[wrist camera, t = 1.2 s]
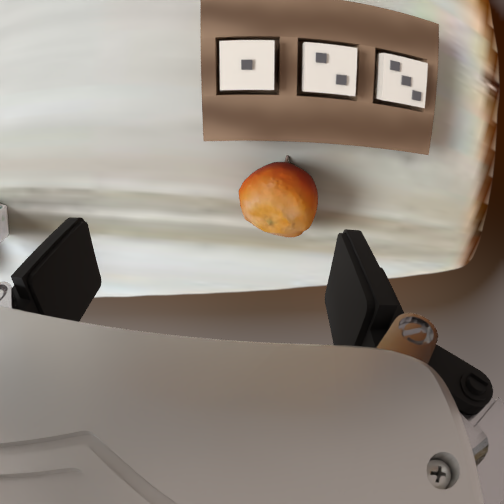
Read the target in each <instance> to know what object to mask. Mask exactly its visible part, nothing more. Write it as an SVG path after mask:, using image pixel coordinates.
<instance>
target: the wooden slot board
mask: <svg viewBox="0 0 504 504" xmlns="http://www.w3.org/2000/svg"><path fill="white" fill-rule="evenodd" d="M229 40H275V45H274V90H220V48H219V41H229ZM304 42H312V43H323V44H332V45H340V46H347V47H354V48H357V74H356V93H355V96H348V95H339V94H329V93H318V92H304V91H301V77H302V44H303V43H304ZM438 50H439V24H436V23H434V22H431V21H427V20H424V19H421V18H418V17H415V16H411V15H408V14H404V13H400V12H396V11H393V10H388V9H384V8H380V7H375V6H371V5H366V4H360V3H355V2H349V1H343V0H201V81H202V112H203V136H204V141H235V140H255V141H295V142H315V143H330V144H343V145H354V146H364V147H374V148H382V149H390V150H398V151H405V152H412V153H419V154H425V155H428V154H429V148H430V141H431V134H432V127H433V119H434V110H435V100H436V88H437V74H438ZM379 53H387V54H392V55H397V56H401V57H405V58H409V59H413V60H417V61H421V62H425V63H428V70H427V86H426V98H425V108H421V107H416V106H411V105H406V104H401V103H396V102H390V101H384V100H379V99H376V98H374V95H375V79H376V56H377V54H379Z"/></svg>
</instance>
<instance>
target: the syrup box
mask: <svg viewBox="0 0 504 504" xmlns="http://www.w3.org/2000/svg"><path fill="white" fill-rule="evenodd" d="M8 235H9V227H8V214H7V206H6V205H3V204H0V243H1V242H2V241H3V240H4V239H5V238H6V237H7V236H8Z"/></svg>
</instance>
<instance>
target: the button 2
mask: <svg viewBox="0 0 504 504" xmlns="http://www.w3.org/2000/svg"><path fill="white" fill-rule="evenodd" d="M356 74H357V48H354V47H347V46H340V45H332V44H323V43H312V42H304V43H303V44H302V77H301V91H304V92H318V93H329V94H339V95H348V96H355V93H356Z"/></svg>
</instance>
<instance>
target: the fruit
mask: <svg viewBox="0 0 504 504" xmlns="http://www.w3.org/2000/svg"><path fill="white" fill-rule="evenodd" d="M239 199H240V206H241V208H242V212H243V215H244V217H245V219H246V220H247V221H249V222H250V223H252V224H253V225H254V226H256V227H257V228H259V229H261V230H263V231H265V232H267V233H271V234H275V235H279V236H284V237H296V236H299V235H301V234H302V233H303V231H305V230H307V229H308V228H309V227H310V226H311V224H312V222H313V219H314V217H315V214H316V210H317V205H318V193H317V188H316V185H315V183H314V181H313V179H312V177H311V176H310V175H309V174H308V173H307V172H306V171H304V170H302V169H301V168H299V167H297V166H295V165H294V164H292V163H289V161H288V156H286V160H285V162H274V163H271V164H268V165H266V166H264V167H262V168H260V169H258V170H256V171H255V172H254V173H252V174H251V175H250V176H249V177H248V178H247V179H246V180H245V181H244V182H243V183H242V186H241V188H240V189H239Z"/></svg>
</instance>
